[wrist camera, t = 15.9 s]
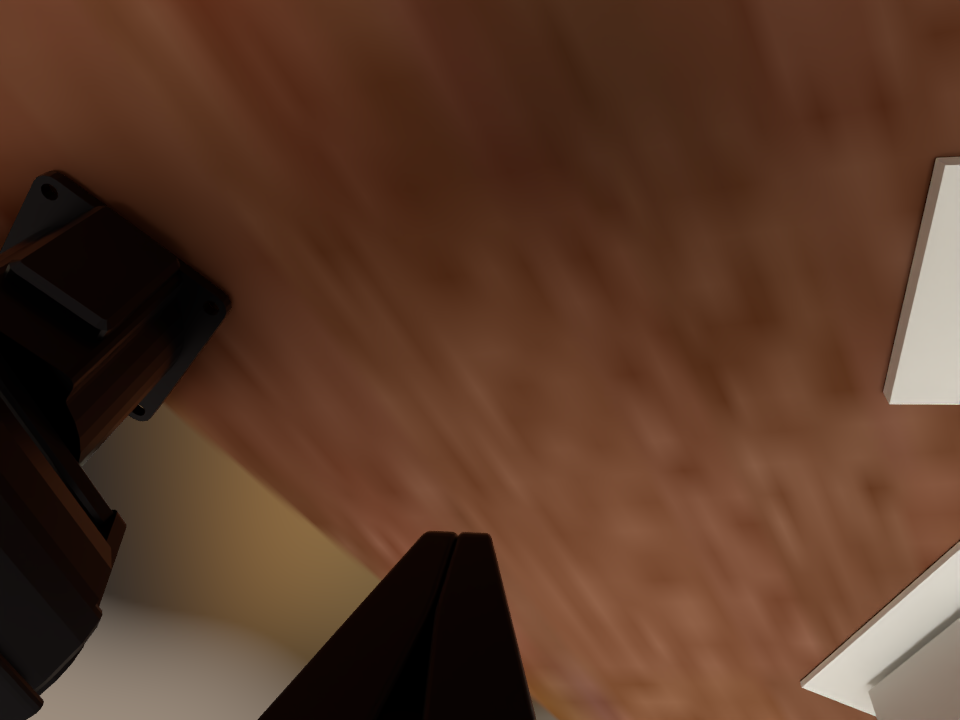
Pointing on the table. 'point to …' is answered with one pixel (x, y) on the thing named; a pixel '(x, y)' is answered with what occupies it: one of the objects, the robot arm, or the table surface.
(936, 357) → the board
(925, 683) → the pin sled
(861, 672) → the pad
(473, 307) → the table surface
